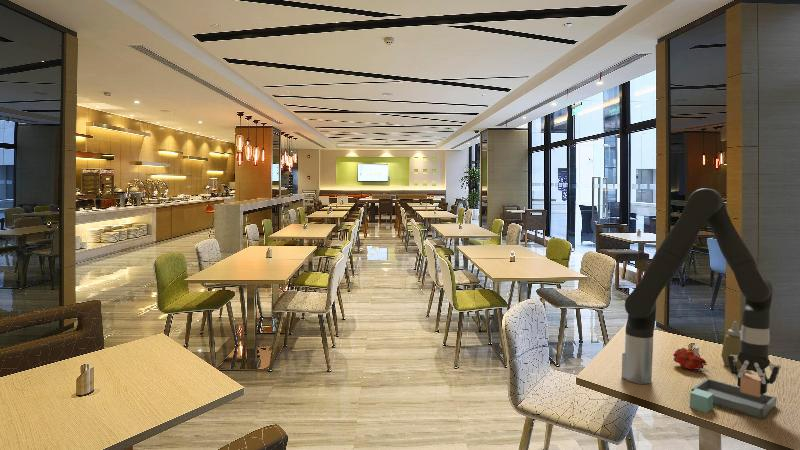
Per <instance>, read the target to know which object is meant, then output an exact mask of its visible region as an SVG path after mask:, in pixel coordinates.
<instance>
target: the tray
mask: <svg viewBox="0 0 800 450" xmlns="http://www.w3.org/2000/svg"><path fill="white" fill-rule="evenodd" d="M696 388H697V389H700V390H703V391H707V392H710V393H713V394H714V396H713V406H717V407H720V408H723V407H724V408H723V409H726V408H727V410H729V409H730V410H729V411H733V410H734V411H733V412H737V413H740V414H742V415H746V416H749V417H752V418H756V419H759V420H762V421H763V420H764V419H765V418H766V417H767V416H768V415H769V414H770V413H771V412H772V411H773V410H774V409H775V408H776V407H777V397H776V396H773V395H768V394H766V393H765V394H763V395H761V396H759V397H756V396H753V395H749V394H746V393H742V392H740V388H739V386H738V385H737V386H736V385H733V384H730V383H726V382H723V381H718V380H715V379H713V378H712V379H711V378H708V377H707V378H705V379H704V380H702V381H701V382H700V383H698V384H697V385H695V386H694V387H692V388H691V389H690V390H691V391H690V393H691V392H692V391H694V390H695V389H696Z"/></svg>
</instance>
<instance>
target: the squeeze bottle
mask: <svg viewBox="0 0 800 450" xmlns="http://www.w3.org/2000/svg"><path fill="white" fill-rule="evenodd" d="M739 329H740V328H739V324H738V321H735V320H734V321H733V323H732V325H731V328H729V329H728V330H727V334H724V339H723V344H722V350H721V358H722V362H723V364H724V366H726V367H729V368H730V365H729V360H728V356H730V355H731V354H733V355H739V353H740V335H741V329H740V330H739ZM736 365H737V369H741V367H742V364H741V362H740V361H739V359H737V361H736Z"/></svg>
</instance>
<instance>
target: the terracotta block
mask: <svg viewBox="0 0 800 450" xmlns="http://www.w3.org/2000/svg"><path fill="white" fill-rule="evenodd" d="M761 383H762V382H761V379H760V377H759V376H758V375H755V374H751V373H747V372H745V374H744V375H743V376H742V377H741V384H740V392H742V393H746V394H749V395H753V396H756V397H759V396H761V394H760V388H761Z"/></svg>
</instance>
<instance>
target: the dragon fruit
mask: <svg viewBox="0 0 800 450" xmlns="http://www.w3.org/2000/svg"><path fill="white" fill-rule="evenodd" d="M694 352H695V350H693V349H692V348H689V349H688V348H685V347H682V348H678V349H676V350H675V351H674V353H673V361H674V362H675V363H678V364H679V365H680V367H681V369H685V368H686V369H688V370H690V371H691V372H699V370H698V369H702V370H703V369H704V367H705V366H707V365H708V364H707V363H708V362H707V361H706V360H705V359H704V358H703V357H701V355H700V354H699V353H698V355H699V356H697V355H696V354H695V353H694Z"/></svg>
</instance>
